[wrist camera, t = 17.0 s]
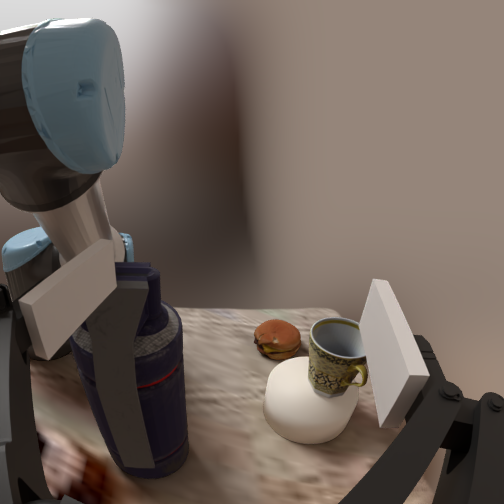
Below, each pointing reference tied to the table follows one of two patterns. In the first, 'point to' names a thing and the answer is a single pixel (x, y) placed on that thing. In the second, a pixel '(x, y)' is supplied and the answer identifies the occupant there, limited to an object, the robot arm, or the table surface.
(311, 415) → the plinth
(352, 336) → the ceramic cup
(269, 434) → the table surface
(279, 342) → the burger
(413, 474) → the robot arm
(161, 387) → the grenade
